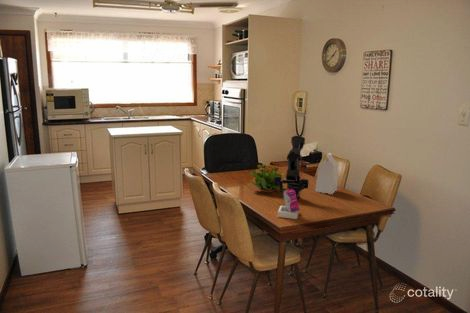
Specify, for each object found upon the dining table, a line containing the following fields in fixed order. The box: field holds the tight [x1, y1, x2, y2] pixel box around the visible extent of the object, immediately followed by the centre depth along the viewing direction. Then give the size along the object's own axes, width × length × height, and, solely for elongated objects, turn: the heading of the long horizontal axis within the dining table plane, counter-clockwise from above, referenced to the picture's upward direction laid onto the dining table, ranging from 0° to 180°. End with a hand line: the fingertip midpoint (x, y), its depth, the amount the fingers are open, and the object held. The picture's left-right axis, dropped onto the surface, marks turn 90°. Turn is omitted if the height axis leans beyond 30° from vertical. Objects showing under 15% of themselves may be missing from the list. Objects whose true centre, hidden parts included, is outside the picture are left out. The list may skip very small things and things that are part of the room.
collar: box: [277, 205, 300, 220], centre depth 202 cm, size 10×10×3 cm
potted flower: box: [249, 163, 286, 193], centre depth 245 cm, size 25×24×18 cm
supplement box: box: [283, 188, 300, 212], centre depth 200 cm, size 6×6×12 cm
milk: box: [314, 152, 339, 195], centre depth 248 cm, size 12×12×26 cm
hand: (289, 195), depth 198 cm, fingers open, 8 cm apart
